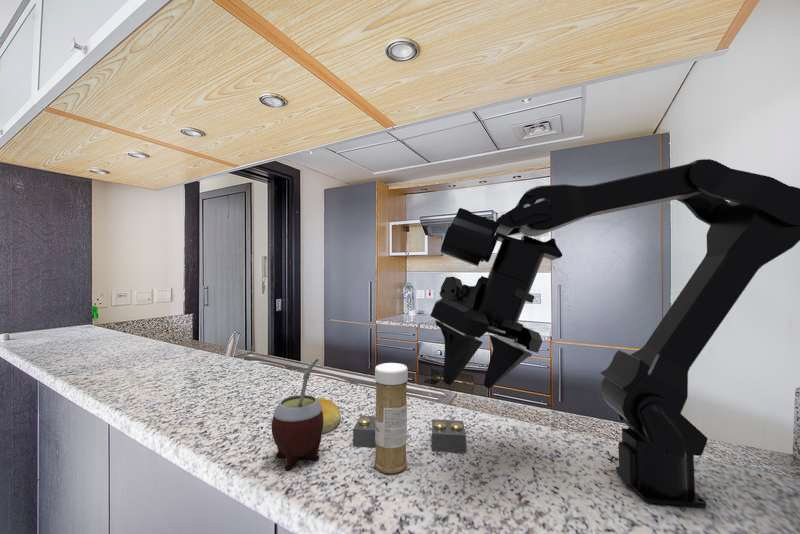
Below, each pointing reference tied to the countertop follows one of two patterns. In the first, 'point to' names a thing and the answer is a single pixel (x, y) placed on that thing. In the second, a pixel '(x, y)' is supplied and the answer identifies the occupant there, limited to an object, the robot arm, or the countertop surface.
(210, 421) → the countertop surface
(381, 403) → the sprinkles bottle
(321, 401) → the bread roll
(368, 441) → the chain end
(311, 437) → the mate gourd
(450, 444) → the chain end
